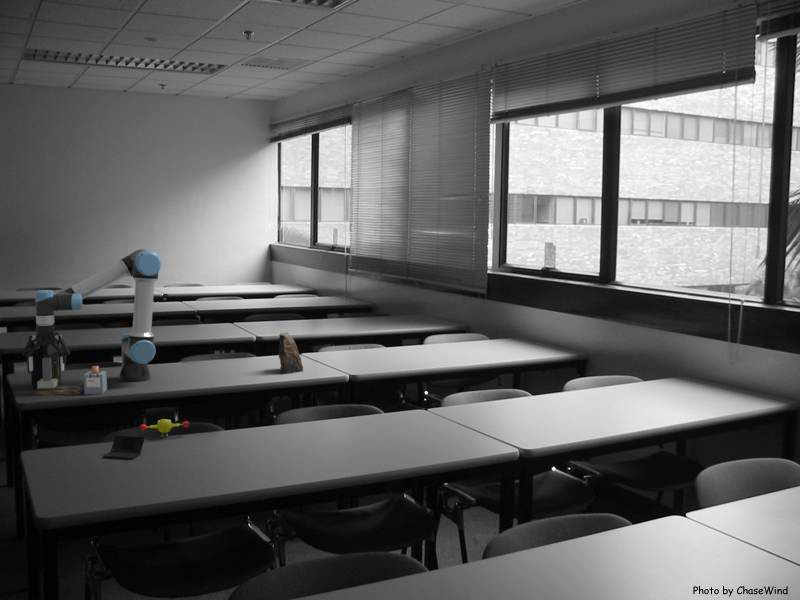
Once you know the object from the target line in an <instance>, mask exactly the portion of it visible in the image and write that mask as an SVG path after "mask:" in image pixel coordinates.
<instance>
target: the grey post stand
mask: <svg viewBox="0 0 800 600" xmlns="http://www.w3.org/2000/svg"><path fill="white" fill-rule="evenodd" d="M42 367H43V379H41V380H39V381H38V382H37V386H38V388H55V387H58V379H52V367H51V358H43V359H42Z"/></svg>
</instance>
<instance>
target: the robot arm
mask: <svg viewBox="0 0 800 600" xmlns="http://www.w3.org/2000/svg"><path fill="white" fill-rule="evenodd" d="M161 268H162V259H161V258H160V256H159V255H158V254H157V253H155V252H154V251H153V250H148V249H147V250H146V249H143V248H142V249H137V250H135V251H133V252H131V253H130V254H128V255H126V256H124V257H123V258H121V259H120V260H119V261H118V263H116V264H113V265H112V266H110V267H108V268H105V269H103V270H101V271H99V272H98V273H96V274H94V275H92V276H90V277H88V278H86V279H84V280H82V281H79V282H78V283H76V284H73V285H72V286H70V287H68V288H66V289H64V290H60V291H58V292H57V293H56V294H55V293H54V291H53V290H52V289H51V290H50V289H42V290H41V289H40V290H37V291H35V296H34V297H35V324H36V326H35V327H36V329H35V330H36V335H34V334H30V335H29V336H28V341H27V343H26V345H25V348H24V349H23V350H22V354H21V356H24V357H26V364H28V368H29V370H28V372H31V371H33V356H31V354H32V353H33V352H34V351H35V350H36V349H37V347H38V346H39V345H40V344H41V345H50V344H51V345H52V346H53V347H54V348H55V349H56V350H57V351H58V352H59V353H60V368H61V372H63V371H65V364H67V356H70V355H71V351H70V349H69V348H68V346H67V344H66V342H65V340H64V338H63V334H59V335H57V336H56V335H55V333H56V329H55V312H61V311H62V312H63V311H80V310H82V308H83V299H85V298H87V297H90V296H91V295H93V294H95V293H96V292H99V291H101V290H104V289H105V288H107V287H109V286H111V285H112V284H115V283H117V282H118V281H120V280H122V279H124V278H131V277H132V279H133V280H134V281H135V285H134V299H133V300H134V303H133V315H132V316H133V319H132V331H131V332H129V333H123V334H122V335H121V360H122V361H121V367H120V371H119V373H118V380H119V381H121V382H129V383H131V382H133V383H134V382H141V381H143V382H144V381H147V380H150V379H152V372H151V370H150V368H149V365H148V363H150V362H151V361H152V360H153V359H154V357H155V355H156V346H155V335H154V333H153V332H152V324H153V323H152V322H153V309H154V295H155V294H154V293H155V292H154V291H155V283H156V282H157V281H158V279H159V272H160V270H161ZM35 338H36V339H37V341H38V342H37V343H36V344H35V346H34V347H33V348H32V349H31V350H30V346H31V344H32V342H33V340H34V339H35ZM55 338H57V340H59V342H60V346H61V347H62V348H61V347H59V346H58V344H57V343H56V342H55V341H54V340H55Z"/></svg>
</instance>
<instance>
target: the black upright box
mask: <svg viewBox="0 0 800 600" xmlns="http://www.w3.org/2000/svg"><path fill="white" fill-rule="evenodd" d="M55 335H56V336H57V335H60V333H59V332H58V331H57V332H56V331H55ZM54 341H55V342H56V343H57V344H58V346H59V347H60V346H61V344H60V342H59V340H57V338H55V340H54ZM37 342H38V341H37V339H36V338H35V339H34V340H33V342H32V344H31V346H30V348H29V351H30V350H31V349H32V348H33V347H34V346H35V344H36V343H37ZM60 348H61V347H60ZM31 356H33V371H30V374H31V379H30V380H31V389H36V390H37V387H38V386H37V382H38V381H39V380H41V379H43V367H42V359H43V358H51V367H52V379H58V383H59V384H60V383H62V373H61V372H62V371H61V354H60V353H59V352H58V351H57V350H56V349H55V348H54V347H53V346H52V345H51V344H50V345H41V344H40V345H39V346H38V347H37V349H36V350H35V351H34V352H33V353H32V354H31Z"/></svg>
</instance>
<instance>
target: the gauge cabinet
mask: <svg viewBox="0 0 800 600" xmlns="http://www.w3.org/2000/svg"><path fill="white" fill-rule="evenodd" d="M107 373H108V372H107V370H101V372H100V370H99V374H98V378H97V374H92V370H91V371H90V370H89V371H87V372H86V373H85V374H83V383H84V386H83V387H84V395H104V394H105V393H106V392H107V391H108V380H107V379H108V378H107V377H108V376H107ZM106 390H107V391H106ZM105 391H106V392H105ZM104 392H105V393H104ZM103 393H104V394H103Z"/></svg>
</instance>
